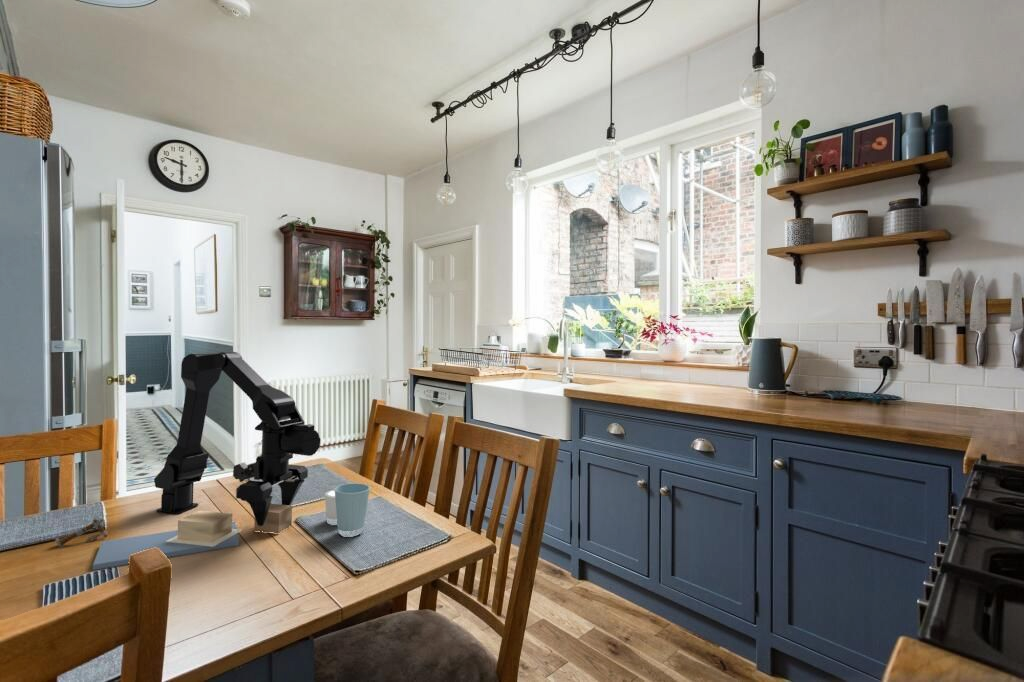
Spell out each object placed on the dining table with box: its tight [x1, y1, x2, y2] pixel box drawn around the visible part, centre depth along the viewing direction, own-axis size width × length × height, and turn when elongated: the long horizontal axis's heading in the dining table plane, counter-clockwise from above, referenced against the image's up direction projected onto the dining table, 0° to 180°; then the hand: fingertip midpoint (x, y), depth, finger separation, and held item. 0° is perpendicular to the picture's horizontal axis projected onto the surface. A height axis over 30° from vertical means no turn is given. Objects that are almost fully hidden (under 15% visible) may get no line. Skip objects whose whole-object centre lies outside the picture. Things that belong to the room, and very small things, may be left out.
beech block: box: [177, 510, 233, 543], centre depth 108 cm, size 6×8×4 cm
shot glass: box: [324, 489, 337, 519], centre depth 122 cm, size 7×7×7 cm
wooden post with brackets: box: [55, 518, 108, 549], centre depth 105 cm, size 2×8×4 cm, turn 130°
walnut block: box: [253, 503, 293, 534], centre depth 116 cm, size 5×6×5 cm
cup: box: [334, 482, 371, 531], centre depth 115 cm, size 8×8×10 cm
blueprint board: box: [92, 521, 243, 571], centre depth 105 cm, size 25×14×1 cm, turn 123°
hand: (273, 518), depth 116 cm, fingers open, 9 cm apart
